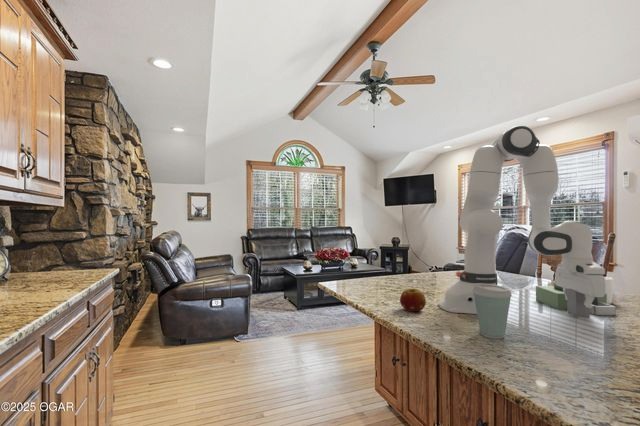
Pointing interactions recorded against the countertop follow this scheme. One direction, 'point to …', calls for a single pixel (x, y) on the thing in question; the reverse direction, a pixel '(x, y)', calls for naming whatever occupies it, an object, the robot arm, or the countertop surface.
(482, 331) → the disposable coffee cup
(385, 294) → the countertop surface
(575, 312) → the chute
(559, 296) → the green and grey base
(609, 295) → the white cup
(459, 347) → the countertop surface
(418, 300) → the fruit
